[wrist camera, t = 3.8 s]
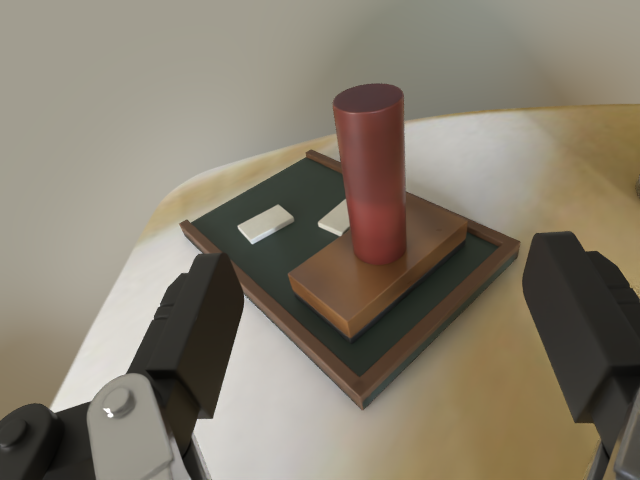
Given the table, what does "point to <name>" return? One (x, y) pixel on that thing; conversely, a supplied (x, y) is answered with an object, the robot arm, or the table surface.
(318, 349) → the board
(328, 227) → the white rectangular block
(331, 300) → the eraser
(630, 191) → the table surface
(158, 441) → the robot arm
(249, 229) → the white rectangular block
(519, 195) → the table surface
